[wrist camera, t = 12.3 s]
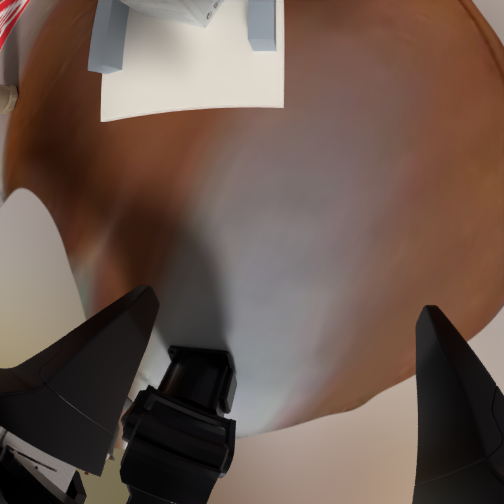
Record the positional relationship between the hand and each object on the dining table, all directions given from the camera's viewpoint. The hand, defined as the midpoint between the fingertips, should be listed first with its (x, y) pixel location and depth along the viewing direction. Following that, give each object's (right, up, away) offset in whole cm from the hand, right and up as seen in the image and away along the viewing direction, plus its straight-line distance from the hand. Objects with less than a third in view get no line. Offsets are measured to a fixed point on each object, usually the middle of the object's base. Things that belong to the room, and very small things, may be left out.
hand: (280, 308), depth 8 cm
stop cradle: (-6, +19, +6) cm, 21 cm away
